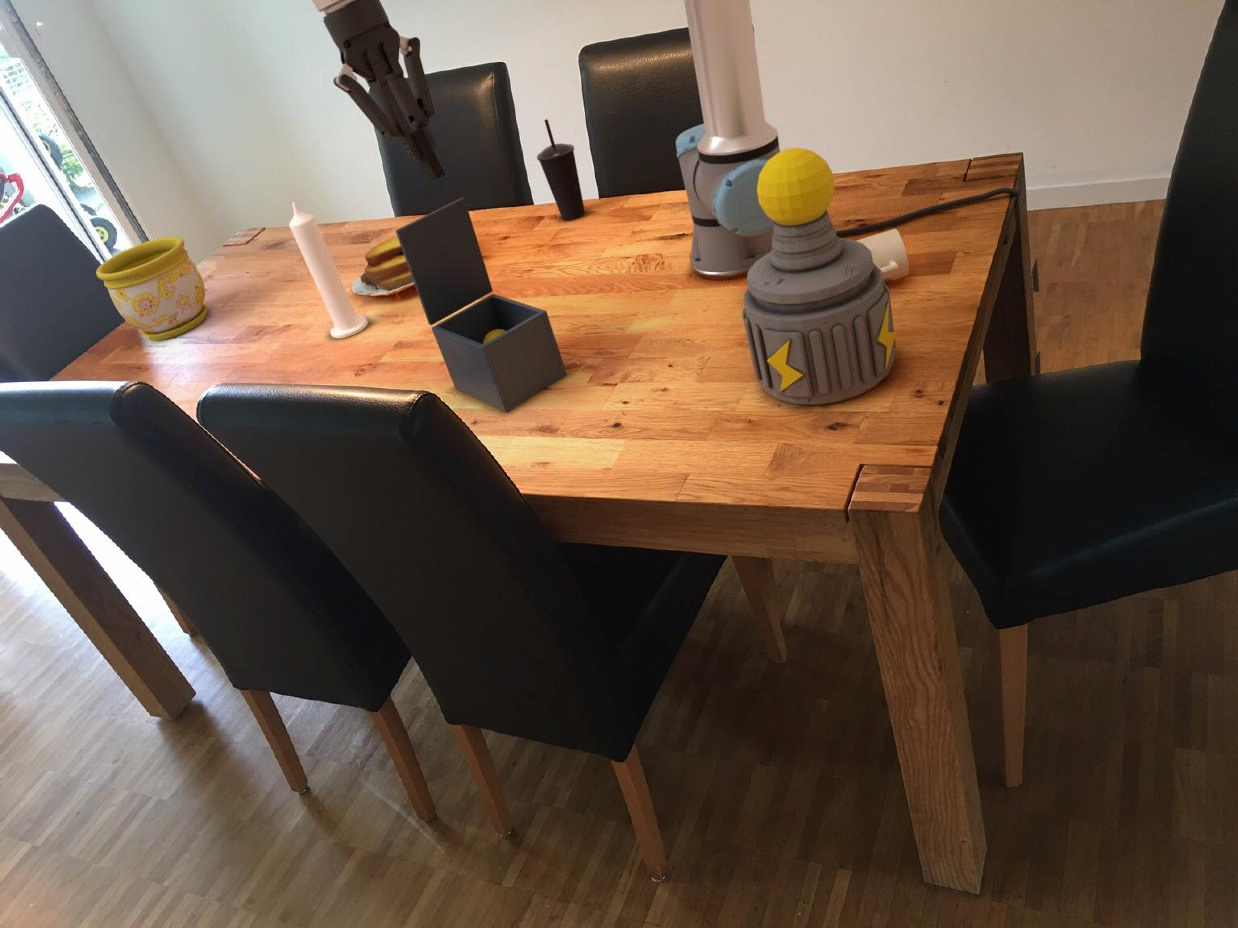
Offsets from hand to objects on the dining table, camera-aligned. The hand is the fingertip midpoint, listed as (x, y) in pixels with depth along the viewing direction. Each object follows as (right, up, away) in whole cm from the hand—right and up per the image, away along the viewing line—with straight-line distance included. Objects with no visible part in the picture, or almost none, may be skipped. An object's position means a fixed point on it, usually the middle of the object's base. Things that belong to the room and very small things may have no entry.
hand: (436, 177), depth 139 cm
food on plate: (-16, -1, +67) cm, 69 cm away
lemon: (+8, -25, +16) cm, 30 cm away
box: (+8, -26, +17) cm, 33 cm away
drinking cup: (+16, +12, +72) cm, 74 cm away
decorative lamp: (+52, -27, -3) cm, 59 cm away
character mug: (+54, -12, +13) cm, 56 cm away
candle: (-25, -14, +52) cm, 59 cm away
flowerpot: (-69, -10, +78) cm, 105 cm away
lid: (0, -9, +12) cm, 15 cm away
